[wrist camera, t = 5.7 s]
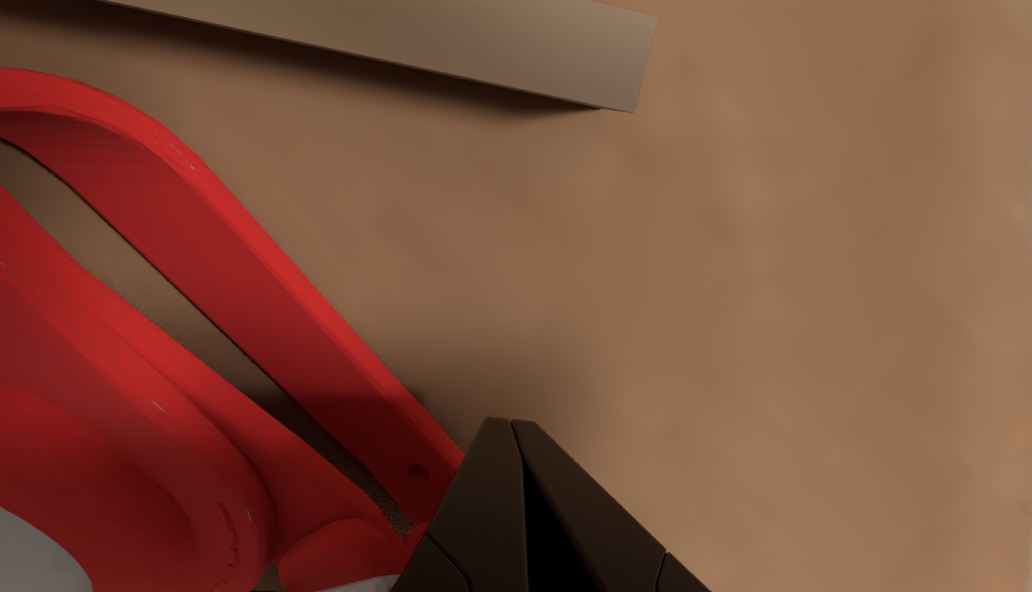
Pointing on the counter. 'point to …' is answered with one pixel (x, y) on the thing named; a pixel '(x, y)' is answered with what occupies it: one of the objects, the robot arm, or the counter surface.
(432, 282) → the counter surface
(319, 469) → the tracker holder
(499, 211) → the counter surface
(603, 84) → the guide channel
